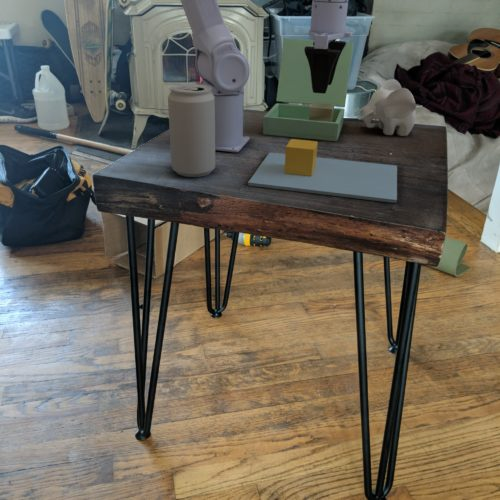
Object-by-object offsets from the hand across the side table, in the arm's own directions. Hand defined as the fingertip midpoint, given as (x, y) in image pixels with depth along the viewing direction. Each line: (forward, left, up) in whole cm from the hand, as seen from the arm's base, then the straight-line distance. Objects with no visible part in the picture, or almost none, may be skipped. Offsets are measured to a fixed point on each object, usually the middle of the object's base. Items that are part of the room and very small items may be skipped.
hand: (322, 88), depth 89 cm
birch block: (0, +4, -8) cm, 9 cm away
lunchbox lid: (-3, +11, +1) cm, 12 cm away
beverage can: (-15, -24, -9) cm, 30 cm away
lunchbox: (-3, +4, -9) cm, 10 cm away
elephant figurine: (+12, +8, -9) cm, 17 cm away
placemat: (+4, -20, -9) cm, 22 cm away
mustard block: (0, -20, -8) cm, 22 cm away
